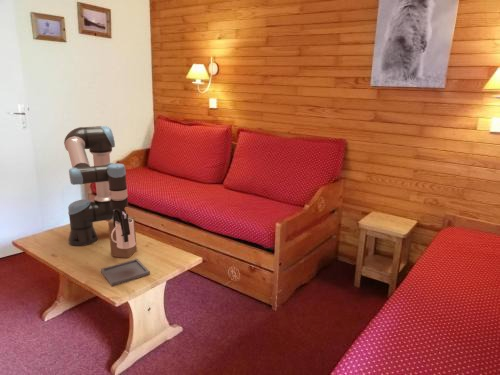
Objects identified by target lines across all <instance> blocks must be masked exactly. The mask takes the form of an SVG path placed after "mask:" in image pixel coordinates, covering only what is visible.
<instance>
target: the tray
mask: <svg viewBox="0 0 500 375" xmlns="http://www.w3.org/2000/svg"><path fill="white" fill-rule="evenodd" d="M100 273H101V275H103V277H104V278H105V280H106V281H107V283H108V284H109V285H110V286H111V287H115V286H118V285H121V284H124V283H127V282H128V283H129V282H131V281H135V280H138V279H141V278H144V277H147V276H150V275H151V272H150V270H149V269H148V268H147V267H146V266H145V265H144V264H143V263H142V262H141V261H140V260H139V259H138V258H134V259H131V260H128V261H124V262H121V263H116V264H114V265H110V266H107V267H102V268H100Z"/></svg>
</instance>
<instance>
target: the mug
mask: <svg viewBox="0 0 500 375" xmlns="http://www.w3.org/2000/svg"><path fill="white" fill-rule="evenodd" d="M128 222H129V229H130V235H128V237H129V248H132V247H134V246H135V245H136V246H137V241H136V242H135V234H134V222H133V219H129V218H128ZM115 226H116V227H115V228H114V229H113V231H112V233H111V239H112V241H113V242H115V243H117V247H118V248H120V249H123V243H122V236H121V235H123V234H122V229H121V225H120V223H119V222H118V221H116V222H115ZM115 230H116V237H117V241H115V240H113V232H114V231H115ZM125 249H128V248H125Z"/></svg>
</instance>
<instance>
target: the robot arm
mask: <svg viewBox="0 0 500 375" xmlns="http://www.w3.org/2000/svg"><path fill="white" fill-rule="evenodd" d="M115 142H116V141H115V137H114V134H113V131H112V128H111V127H110V126H107V125H106V126H105V125H104V126H102V125H100V126H99V125H98V126H81V127H80V126H79V127H77V128H74V129H73V130H71V131H70V132H68V133H67V135H66V136H65V138H64V140H63V144H64V149H65V151H66V152H68V156H69V160H70V163H71V164H70V165H71V168H69V169H68V175H69V176H68V177H69V182H70V184H71V185H74V186H75V185H77V186H78V185H87V184H95V188H96V189H95V191H96V196H95V197H93V198H94V199H93V201H91V200H90V199H87V198H86V199H85V198H83V199H78V200H75V201H73V202H71V203H70V204H69V205H68V208H67V210H68V215H69V216H68V218H69V225H70V226H69V227H70V231H69V236H68V244H69V245H71V246H75V247H81V246H87V245H91V244H94V243H95V242H97V240H98V234H97V232H96V229H95V228H94V225H93V224H94V223H98V222H103V221H110V220H111V219H113V225H114V226H115V222H116V221H118V222H119V223H120V225H121V229H122V234H123V235H121V236H122V243H123V249H125V248H129V237H128V235H130V229H129V222H128V216H129V213H127V212H126V209H125V208H127V207H128V206H129V201H128V200H129V199H128V197H129V196H128V187H127V186H128V185H127V171H126V166H125V164H123V163H113V162H111V155H110V154H111V153H112V152H113V148H115V147H116V145H115ZM86 150H89V153H90V154H92V160H93V165H92V166H91V165H90V162H89V158H88V156H87V152H86ZM115 227H116V226H115ZM116 241H117V237H116Z"/></svg>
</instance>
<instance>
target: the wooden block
mask: <svg viewBox="0 0 500 375" xmlns="http://www.w3.org/2000/svg"><path fill="white" fill-rule="evenodd" d="M128 218H129V219H133V222H134V234H135V242H136V243H137V236H136V235H137V234H136V222H135V220H136V219H135V217H134V216H129V215H128ZM107 222H108V223H107V224H108V233H109V234H108V235H109V245H110V246H109V247H110V255H111V257H115V258H124V259H128V258H130V257H131V256H132V255H133V254H135V253H136V252H137V248H138V247H137V244H136V245H135V246H134V247H132V248H128V249H120V248H118V247H117V243H115V242H113V241H112V239H111V233H112V231H113V229H114V228H115V226H114V225H113V219H111V220H108V221H107ZM113 240H115V241H116V230H115V231H114V232H113Z"/></svg>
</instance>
